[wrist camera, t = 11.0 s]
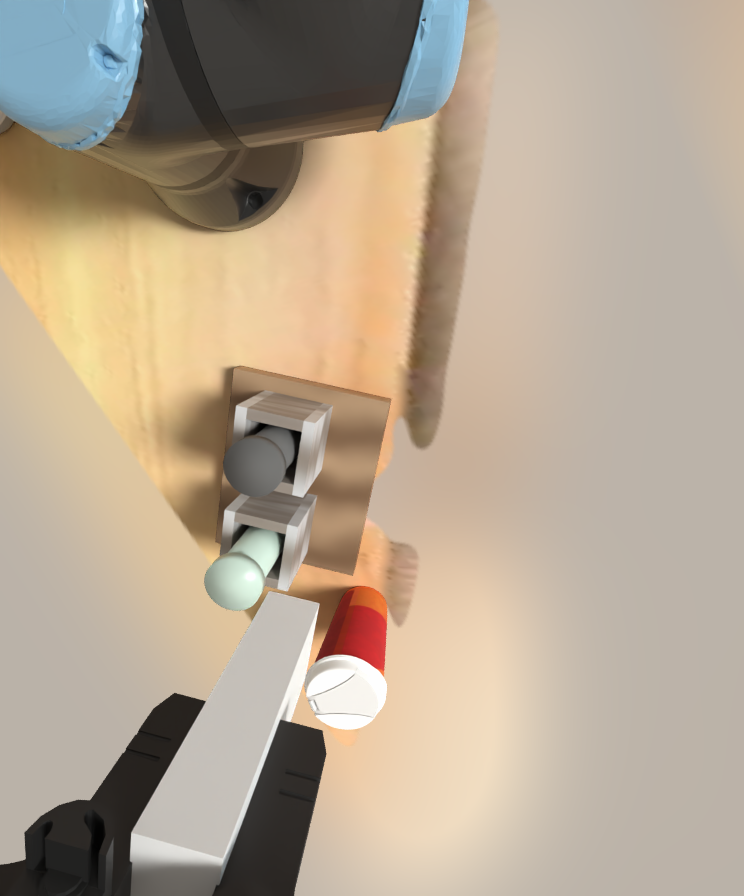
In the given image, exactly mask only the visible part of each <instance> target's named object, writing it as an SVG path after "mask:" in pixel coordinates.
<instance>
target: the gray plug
mask: <svg viewBox="0 0 744 896" xmlns="http://www.w3.org/2000/svg"><path fill="white" fill-rule="evenodd" d="M301 435H302V432H300V431H296V430H292V429H287V428H283V427H278V426H274V425H270V424H269V425H268V426H266V427H265V428H264V429H262V430H261V431H260V432H258V433H257V434H256V435H253V436H247V437H244V438H242V439H240V440H239V441H237V442H236V443H235V444H233V445H232V446H231V447H230V448H229V449H228V451H227V452H226V454H225V457H224V461H223V469H224V474H225V476H226V478H227V480H228V482H229V483H230V485H231V486H232V487H233V488H234V489H235V490H237V491H238V492H240V493H242V494H244V495H247V496H251V497H261V496H265V495H268V494H270V493H271V492H273V491H274V490H275V489H276V488H277V486H278V485H279V484H280V483H281V482H282V480H283V478H284V476H285V474H286V469H287V468H288V467H289V465H290V464H291V463H292V462H293V461H294V460H295V459H296V458H297V456H298V454H299V448H300V441H301Z"/></svg>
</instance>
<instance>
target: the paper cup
mask: <svg viewBox="0 0 744 896" xmlns="http://www.w3.org/2000/svg"><path fill="white" fill-rule="evenodd" d="M386 630H387V604H386V601H385V599H384V597H383V596H382V595H381V594H380V593H379V592H378V591H376V590H375V589H373V588H370V587H365V586H359V587H354V588H352V589H350V590H348V591H347V592H346V593H345V594H344V596H343V597H342V599H341V601H340V603H339V606H338V608H337V610H336V613H335V615H334V617H333V620H332V622H331V624H330V627H329V629H328V632H327V634H326V637H325V639H324V641H323V644H322V646H321V649H320V651H319V654H318V656H317V658H316V661H315V663H314V664H313V665H312V666H311V667H310V669H309V670H308V672H307V674H306V677H305V692H306V697H307V698H308V702H309V704H310V707H311V709H312V711H314V712H315V716H316V717H317V718H318V719H319V720H321V721H322V722H324V723H325V724H327V725H329V726H332V727H335V728H338V729H357V728H360V727H363V726H365V725H367V724H368V723H369V722H371V721H372V720H373V719H374V718H375V716H376V714H377V713H378V712H379V711H380V709H381V708H382V707H383V705H384V702H385V699H386V690H387V685H386V682H385V680H384V665H385V647H386Z"/></svg>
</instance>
